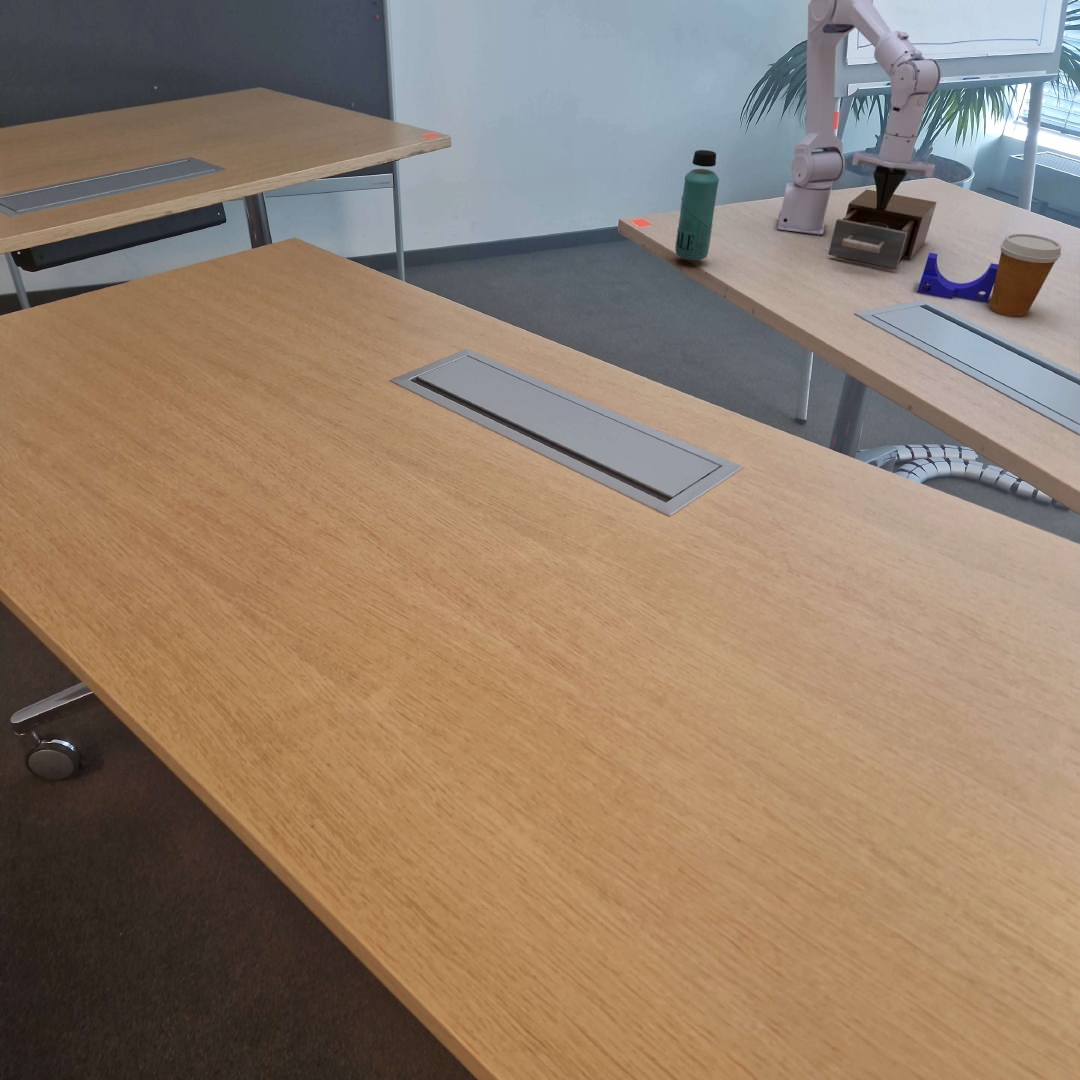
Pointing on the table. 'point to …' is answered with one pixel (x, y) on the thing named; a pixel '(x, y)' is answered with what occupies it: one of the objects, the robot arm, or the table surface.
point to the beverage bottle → (697, 208)
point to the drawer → (872, 238)
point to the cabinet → (901, 214)
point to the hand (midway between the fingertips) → (880, 209)
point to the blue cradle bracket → (949, 289)
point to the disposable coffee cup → (1022, 272)
